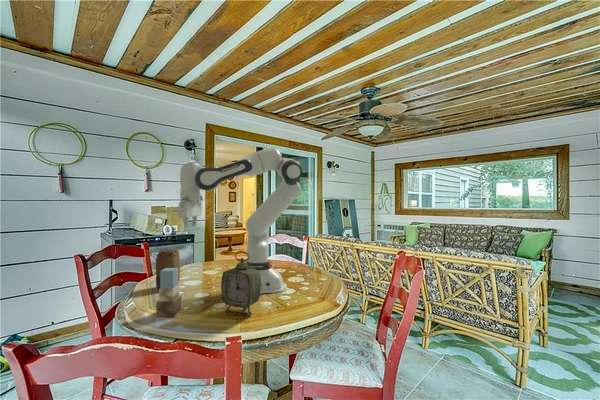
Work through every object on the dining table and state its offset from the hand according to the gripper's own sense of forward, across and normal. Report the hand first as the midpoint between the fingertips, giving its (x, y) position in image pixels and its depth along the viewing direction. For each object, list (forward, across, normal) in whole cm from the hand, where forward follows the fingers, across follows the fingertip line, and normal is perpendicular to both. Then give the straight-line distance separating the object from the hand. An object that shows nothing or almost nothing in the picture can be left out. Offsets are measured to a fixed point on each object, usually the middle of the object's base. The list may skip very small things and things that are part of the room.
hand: (190, 226), depth 133 cm
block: (+33, +14, +17) cm, 40 cm away
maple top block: (+28, -20, +2) cm, 34 cm away
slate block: (+22, -20, +2) cm, 30 cm away
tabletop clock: (+34, -18, -27) cm, 47 cm away
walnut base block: (+34, -20, +2) cm, 39 cm away
